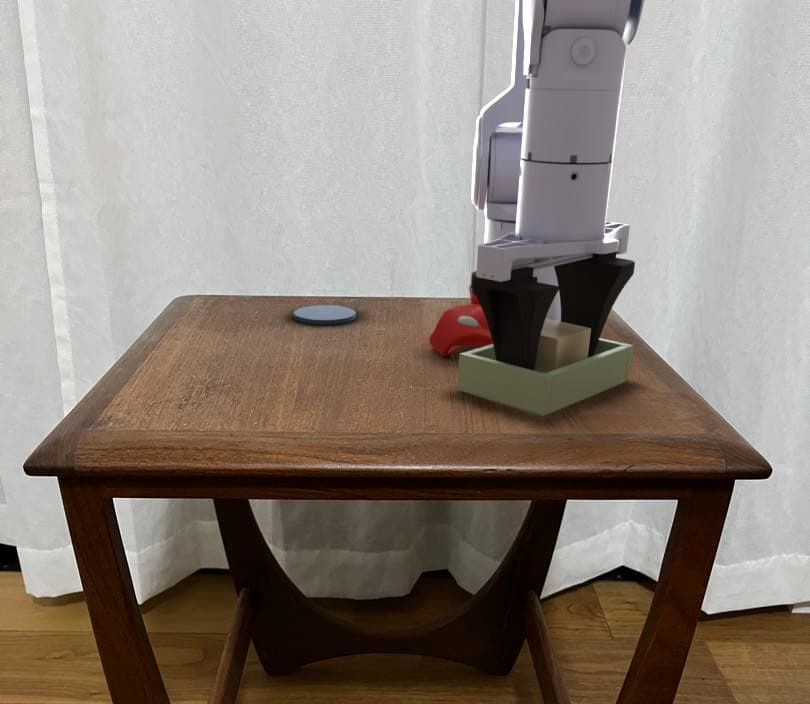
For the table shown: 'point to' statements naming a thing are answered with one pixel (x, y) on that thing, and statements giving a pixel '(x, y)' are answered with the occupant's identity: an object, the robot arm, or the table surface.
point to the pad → (324, 314)
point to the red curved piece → (461, 328)
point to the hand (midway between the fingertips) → (546, 371)
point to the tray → (544, 378)
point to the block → (561, 345)
